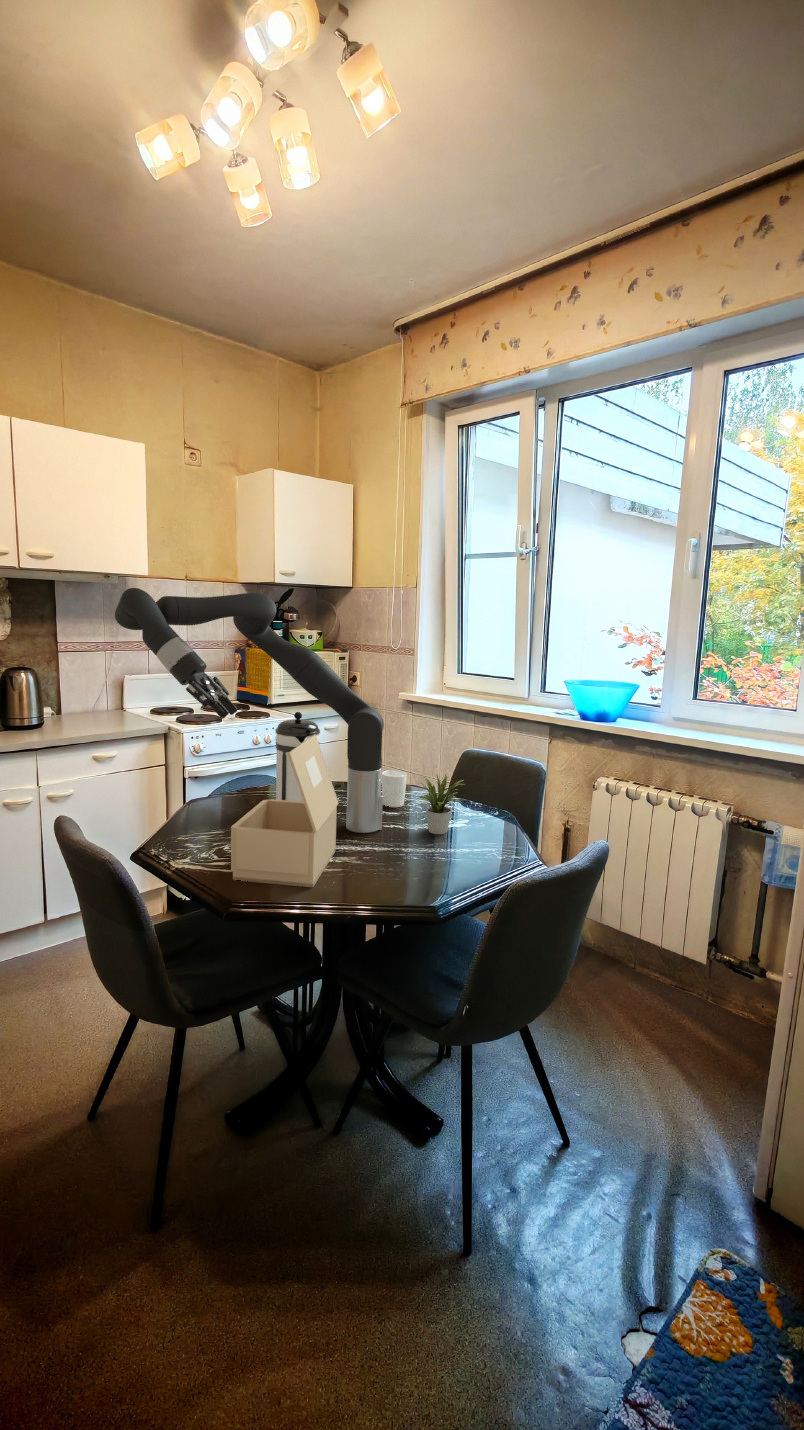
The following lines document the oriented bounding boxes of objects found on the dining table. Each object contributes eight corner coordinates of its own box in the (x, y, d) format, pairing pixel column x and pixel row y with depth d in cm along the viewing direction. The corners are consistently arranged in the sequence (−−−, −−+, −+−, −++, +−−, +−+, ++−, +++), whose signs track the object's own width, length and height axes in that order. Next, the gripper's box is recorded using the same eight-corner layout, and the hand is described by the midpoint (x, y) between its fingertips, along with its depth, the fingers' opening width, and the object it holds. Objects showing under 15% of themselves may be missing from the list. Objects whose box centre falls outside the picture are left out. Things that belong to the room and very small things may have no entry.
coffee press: (334, 810, 195) (336, 711, 191) (298, 823, 182) (300, 717, 177) (291, 799, 205) (292, 705, 200) (254, 811, 191) (254, 710, 186)
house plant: (469, 842, 173) (473, 782, 170) (418, 841, 172) (420, 781, 169) (460, 824, 187) (464, 769, 184) (413, 823, 186) (415, 768, 183)
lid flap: (336, 803, 160) (339, 803, 160) (314, 832, 139) (317, 831, 139) (313, 735, 158) (316, 734, 158) (287, 753, 137) (290, 752, 137)
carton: (335, 850, 163) (337, 804, 161) (312, 888, 140) (313, 835, 138) (264, 844, 165) (264, 798, 163) (229, 881, 142) (229, 828, 140)
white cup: (387, 809, 199) (388, 777, 197) (376, 802, 206) (377, 771, 204) (410, 806, 202) (411, 775, 201) (398, 799, 209) (399, 769, 208)
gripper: (184, 669, 161) (231, 720, 161) (156, 674, 147) (207, 729, 147) (204, 648, 160) (252, 700, 160) (178, 651, 145) (229, 708, 146)
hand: (230, 714), depth 154 cm, fingers open, 5 cm apart
